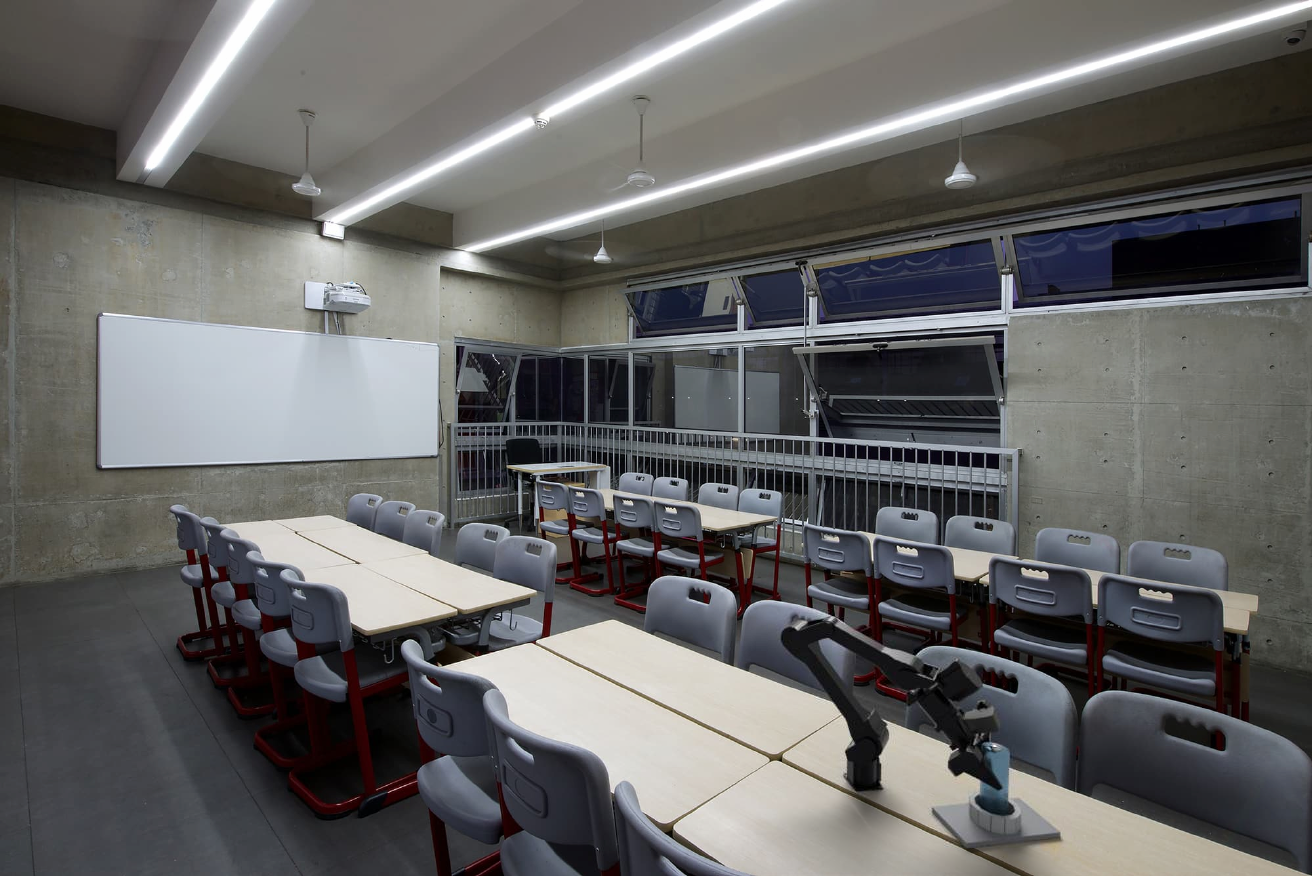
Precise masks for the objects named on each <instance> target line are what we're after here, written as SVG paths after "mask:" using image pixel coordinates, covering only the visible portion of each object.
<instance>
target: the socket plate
mask: <svg viewBox="0 0 1312 876" xmlns="http://www.w3.org/2000/svg"><path fill="white" fill-rule="evenodd" d="M979 804H980V790H975V791H973V792H972V793H971V794H970V795H968V802H966V803H955V804H946V805H937V806H931V813H932V814H934V816H936V818H937V819H938V820H939V821H940V822H941V823H942V824H943V825H944V826H945V827H946V828H947V829H948V830H949V832H951V834H952V835H953V836H954V837H955V836H956V837H955V838H956V839H957V840H958V841H959V842H960V843H961V844H962V846H964V848H965V849H972V848H973V849H974V848H981V847H980V846H982V847H987V845H990V846H996V845H1005V844H1007V845H1008V844H1015V843H1022V842H1030V841H1031V842H1033V841H1039V840H1047V839H1048V840H1049V839H1055V838H1061V831H1060V830H1059V829H1057V828H1056V827H1055V826H1054V825H1053V824H1051V823H1050V822H1049V821H1048V820H1047V819H1045V817H1042V815H1040V814H1039V813H1038V812H1037V811H1035V810H1034V808H1032V807H1031V806H1029V805H1028V804H1027V803H1026V802H1025V801H1024V800H1022V799H1021V798H1020V797H1012V798H1010V797H1008V816H1000V815H995V814H991V813H989V812H987V811H985V810H983V809H981V808H980V807H979Z"/></svg>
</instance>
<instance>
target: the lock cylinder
mask: <svg viewBox="0 0 1312 876" xmlns="http://www.w3.org/2000/svg"><path fill="white" fill-rule="evenodd" d="M984 751H986V763H987V764H988V766H989V767H990V768H991V770H992V771H993V773H994V774H995V776H996V777H997V779H998V780H999V782H1000V783H1001V785H1002V787H1003V789H1001V790H999V791H998V790H996V789H994V788H993V787H991V786H989V785H987V784H986V783H984V782H982V781H980V780H979V791H980V804H979V807H980V808H981V809H983V810H985V811H987V812H989V813H991V814H995V815H1000V816H1008V798H1009V793H1010V791H1009V786H1010V759H1011V758H1010V757H1011V756H1010V755H1011V753H1010V750H1009V748H1007V747H1006V746H1004V745H1002V744H1000V743H996V742H992V741H990V742H986V743H983V744H982V745H981V753H983V752H984Z"/></svg>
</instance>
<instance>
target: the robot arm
mask: <svg viewBox="0 0 1312 876" xmlns="http://www.w3.org/2000/svg"><path fill="white" fill-rule="evenodd" d="M825 639H829V640H831V641H832V642H834V643H836V644H838V645H839V646H841V647H843V648H845V649H846V650H848V651H849V652H851V653H853V654H855V655H856V656H858V657H860V658H861V659H863V660H865V661H867V662H868V663H870V664H871V665H873V666H875V667H876V668H878V669H879V670H880V671H881V673H882V674H883V676H885V677H886V679H889V681H891V682H892V683H893V684H894V685H896V686H897V687H898V688H899V689H901V690H903V691H906V693H905V694H906V704H905V705H906V706H907V707H911V706H913V705H914V704H916V703H917V705H919V707H920V708H921V709H922V711H923V712H924V713H925V714H926V715H927V717H929V719H930V721H932V722H933V724H934V728H933V729H934V730H935V732H936V733H937V734H939V733H940V732H941V733H942V734H943V736H944V737H945V738H946V739H947V741H948V742H949V745H948V747H949V749H950V750H951V752H952V753H950V755H949V758H948V760H947V769H948V770H949V771H950V773H951V774H952V775H953V776H954V778H955V777H958V776H961V775H962V774H963V773H964V774H967V775H968V776H970V777H973V778H974V779H977V780H979V782H980V781H982V782H984V783H986V784H987V785H989V786H991V787H993V788H994V789H996V790H998V791H999V790H1001V789H1003V787H1002V785H1001V783H1000V782H999V780H998V779H997V777H996V776H995V774H994V773H993V771H992V770H991V768H990V767H989V766H988V764H987V763H986V751H984V752H983V753H981V745H982V744H983V743H986V742H991V735H992V734H993V733H998V732H1000V730H1001V725H1002V722H1001V720H1000V717H999V715H998V710H997V709H996V708H995V707H994V705H991V704H990V703H989V702H988V701H987V700H986V699H981V700H978V701H977V705H976V708H973V709H972V710H969V711H967V710H966V709H965V708H964V707H963V706H961V705H958V706H956V705H955V702H957V703H961V702H963V701H964V700H966V699H967V698H969V697H970V696H972V695H974V694H975V693H977V692H979V691H980V690H982V689H983V688H984V685H983V682H982V679H981V678H980V676H979V675H978V674H977V672H976V671H975V670H974V669H973V668H972V667H970V666H969V665H967V664H966V663H965V662H962V661H961V660H960V659H959V658H957V657H956V658H955V659H953V660H952V661H951V662H950V663H949V664H947V665H946V666H945V667H943V668H941V667H939V666H936V665H934V664H933V665H932V664H930V663H927V662H924V661H922V659H921V658H920V657H918V656H917V655H913V654H911V653H908V652H906V651H904V650H899V649H895V648H890V647H887V646H885V645H883V644H881V643H879V642H878V641H877V640H874V639H872V638H870V637H869V636H867V635H865V634H863V633H862V632H860V631H857V630H856V629H855V628H853V627H852V626H849V625H848V624H845V623H844V622H842V621H840V620H839V619H838V618H837V617H836V616H831V615H830V616H826V617H823V618H816V619H811V620H807V621H806V620H801V619H797V620H794V621H792V622H791V623H790V624H789V625H787V626H785V628H784V629H783V630H782V631H781V633H780V643H781V645H782V647H784V649H785V650H786V651H787V652H788V653H789V654H790V655H791V656H792V657H793V658H794V659H796V660H798V661H799V662H800V663H803V664H804V665H805V666H806V667H807V669H808V670H809V671H810V673H811V674H812V676H813V677H814V678H815V680H816V681H817V682H818V684H819V685H820V686H821V688H822V689H823V691H824V692H825V693H826V695H827V696H828V697H829V699H830V700H831V702H832V703H833V704H834V706H835V707H836V709H837V710H838V711H839V713H840V714H841V716H843V718H844V720H845V722H846V725H847V728H848V731H849V735H850V738H851V739H852V740H851V741H850V742H849V744H848V746H847V747H846V749H845V750H844V753H845V757H846V772H843V773H842V775H843V777H844V778H845V780H846V781H847V782H848V783H849V785H850V786H851V787H852V788H853V790H854V791H856V792H857V793H858V792H866V791H867V792H868V791H877V790H883V789H884V786H883V784H882V783H881V781H882V763H881V762H880V759H881V758H880V756H881V755H882V754H883V752H884V750H885V748H886V746H887V744H888V742H889V740H890V732H889V731H890V730H889V729H888V727H887V726H888V725H889V724H888V723H887V722H886V721H884V719H883V718H882V717H881V715H880V714H879V712H878V711H877V709H876V708H874V709H873V710H872V711H869V710H868V709H866V708H864V706H862V704H860V702H859V700H858V699H857V698H856V696H855V695H854V694H853V692H852V691H851V690H850V688H849V687H848V685H847V684H846V683H845V682H844V680H843V679H842V677H841V676H840V675H839V674H838V672H837V671H836V670H835V668H834V667H833V666H832V664H831V663H830V661H829V660H828V659H827V657H826V656H825V655H824V652H823V651H822V649H821V646H820V641H823V640H825Z"/></svg>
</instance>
